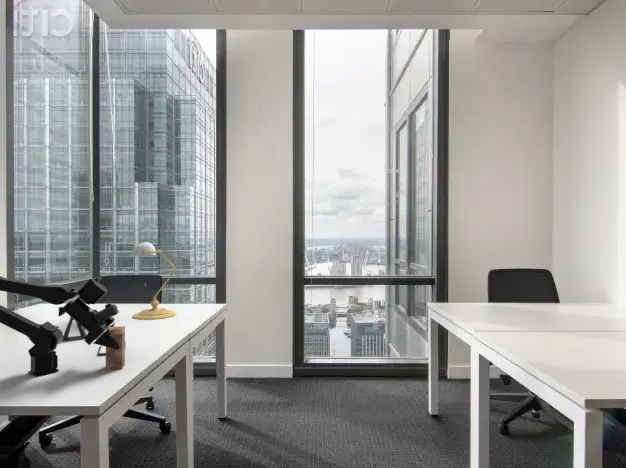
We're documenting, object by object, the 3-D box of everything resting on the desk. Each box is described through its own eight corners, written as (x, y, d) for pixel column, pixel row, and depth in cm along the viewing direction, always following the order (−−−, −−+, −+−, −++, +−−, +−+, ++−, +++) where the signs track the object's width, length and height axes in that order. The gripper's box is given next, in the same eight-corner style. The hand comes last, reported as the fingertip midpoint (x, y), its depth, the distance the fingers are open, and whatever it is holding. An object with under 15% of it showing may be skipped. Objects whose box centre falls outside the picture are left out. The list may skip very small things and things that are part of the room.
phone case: (124, 355, 160) (125, 344, 174) (124, 351, 160) (125, 340, 174) (97, 358, 156) (101, 346, 171) (97, 353, 156) (101, 342, 171)
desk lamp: (132, 312, 245) (132, 241, 246) (174, 309, 253) (174, 241, 254) (129, 322, 216) (129, 242, 217) (177, 319, 225) (177, 242, 225)
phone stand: (87, 336, 188) (87, 308, 188) (86, 339, 182) (86, 310, 182) (63, 338, 184) (63, 309, 184) (61, 341, 179) (61, 312, 179)
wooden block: (105, 370, 140) (105, 330, 140) (108, 365, 145) (108, 326, 145) (122, 368, 141) (122, 329, 142) (124, 364, 146) (124, 326, 146)
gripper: (96, 300, 133) (134, 334, 136) (108, 293, 151) (142, 322, 154) (67, 327, 131) (107, 361, 134) (83, 316, 149) (118, 346, 152)
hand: (120, 346), depth 144 cm, fingers closed on wooden block, 5 cm apart
